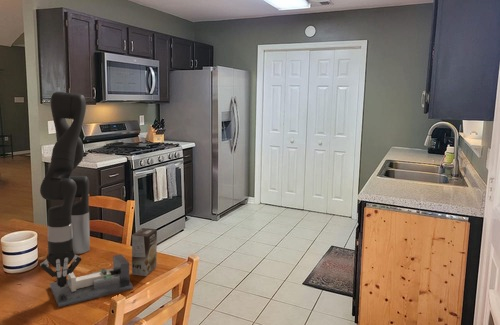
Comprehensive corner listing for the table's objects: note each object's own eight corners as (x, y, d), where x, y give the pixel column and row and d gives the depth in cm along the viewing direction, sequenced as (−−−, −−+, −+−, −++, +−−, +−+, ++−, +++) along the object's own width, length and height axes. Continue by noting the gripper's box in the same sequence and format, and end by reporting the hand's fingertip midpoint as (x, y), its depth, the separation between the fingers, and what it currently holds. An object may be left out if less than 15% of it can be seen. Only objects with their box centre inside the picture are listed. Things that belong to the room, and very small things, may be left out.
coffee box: (146, 276, 146) (147, 236, 144) (131, 274, 147) (131, 234, 145) (157, 266, 155) (157, 229, 153) (142, 265, 156) (142, 227, 154)
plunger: (68, 285, 133) (67, 272, 133) (107, 276, 141) (107, 264, 141) (71, 291, 129) (71, 278, 128) (112, 282, 137) (112, 269, 136)
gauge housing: (49, 287, 135) (49, 264, 134) (118, 271, 149) (118, 251, 148) (58, 307, 122) (57, 282, 121) (132, 288, 136) (132, 266, 135)
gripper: (79, 230, 134) (80, 277, 137) (36, 237, 126) (38, 286, 129) (84, 237, 128) (85, 286, 131) (39, 244, 120) (41, 295, 123)
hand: (61, 286), depth 130 cm, fingers closed
